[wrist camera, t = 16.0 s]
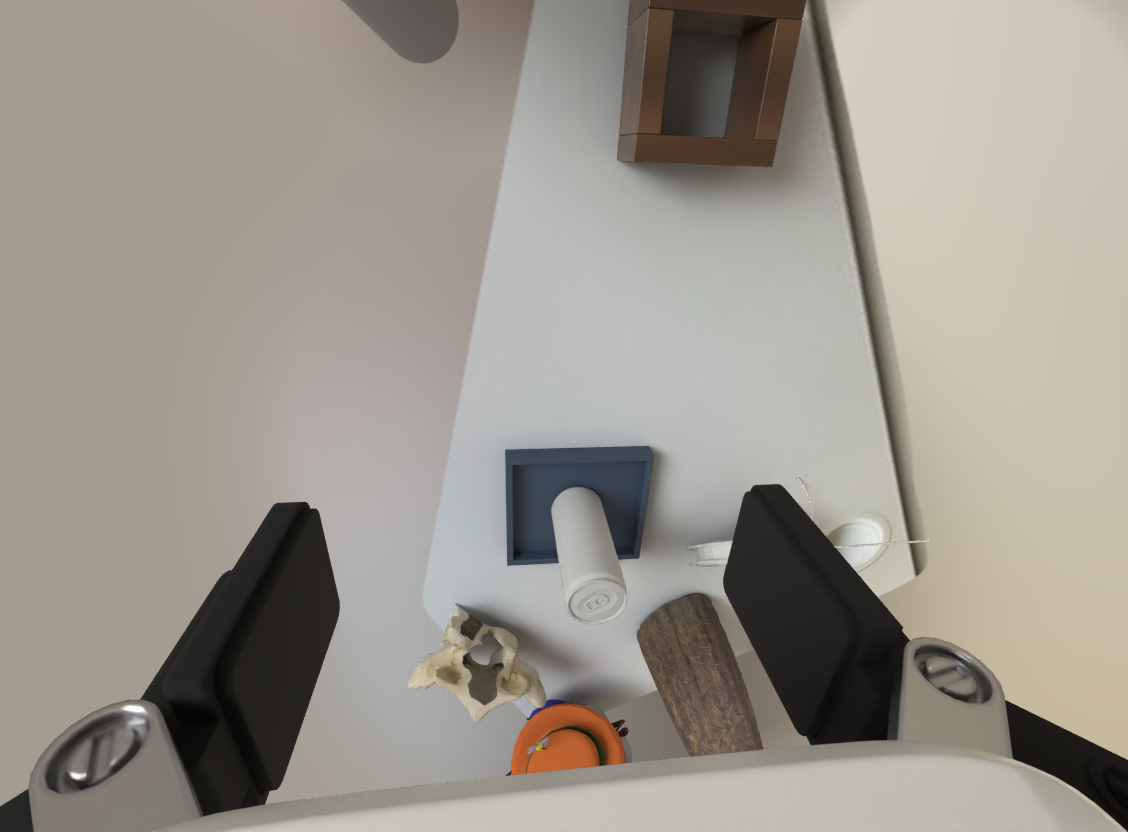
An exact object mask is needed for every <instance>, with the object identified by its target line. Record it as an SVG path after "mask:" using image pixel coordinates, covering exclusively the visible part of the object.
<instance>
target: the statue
mask: <svg viewBox="0 0 1128 832" xmlns="http://www.w3.org/2000/svg"><path fill="white" fill-rule="evenodd" d="M637 639H638V642H639V645H640V648H641V651H642V653H643V656H644V658H645V661H646V663H647V666H648V668H649V670H650V673H651V675H652V677H653V680H654V682H655V684H656V687H657V689H658V691H659V693H660V695H661V697H662V699H663V701H664V704H665V706H666V709H667V711H668V713H669V715H670V717H671V719H672V721H673V724H674V725H675V728H676V730H677V732H678V734H679V736H680V738H681V740H682V742H683V744H684V745H685V747H686V749H687V751H688V753H689V754H690V756H691V757H694V756H704V755H715V754H725V753H735V752H745V751H755V750H763V746H762V741H761V738H760V733H759V730H758V726H757V723H756V718H755V715H754V711H753V708H752V705H751V702H750V700H749V696H748V693H747V689H746V686H745V683H744V681H743V679H742V674H741V672H740V670H739V667H738V664H737V662H736V659H735V656H734V653H733V651H732V648H731V645H730V643H729V641H728V639H727V635H726V633H725V631H724V629H723V627H722V625H721V623H720V621H719V618H718V615H717V612H716V611H715V609H714V607H713V605H712V602H711V600H710V599H709V598H708V597H707V596H705V595H700V594H693V595H688V596H684V597H682V598H680V599H678V600H675V601H673V602H670V603H668V604H665V605H663V606H662V607H660V608H658V609H657V610H656V611H655V612H653V613H651V614H650V615H649V616H648V618H647V619H646V620H645V621H644V622H643V623H642V624H641V626H640V629H639V630H638V632H637Z"/></svg>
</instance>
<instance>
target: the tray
mask: <svg viewBox="0 0 1128 832" xmlns="http://www.w3.org/2000/svg"><path fill="white" fill-rule="evenodd" d="M653 457H654V455H653V453H652V451H651V450H650V447H649V446H632V447H595V448H557V449H520V450H505V459H506V519H507V565H508V566H510V565H528V564H547V563H559V560H558V553H557V546H556V539H555V533H554V526H553V519H552V512H551V508H552V504H553V502H554V501H555V499H556V498H557V497H558V496H559V494H560V493H562V492H563V491H565V490H567V489H569V488H574V487H584V488H587V489H590V490H592V491H593V492H595V493H596V494H597V495H598V496H599V498H600V500H601V503H602V506H603V510H604V513H605V517H606V520H607V523H608V527H609V530H610V534H611V537H612V540H613V544H614V547H615V551H616V554H617V557H618V560H620V559H639V556H640V548H641V541H642V534H643V527H644V520H645V513H646V506H647V499H648V492H649V485H650V478H651V471H652V464H653Z"/></svg>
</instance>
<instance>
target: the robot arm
mask: <svg viewBox="0 0 1128 832" xmlns="http://www.w3.org/2000/svg"><path fill="white" fill-rule="evenodd" d="M723 585H724V590H725V593H726V595H727V597H728V599H729V601H730V603H731V605H732V607H733V609H734V611H735V613H736V615H737V616H738V618H739V620H740V622H741V624H742V626H743V628H744V630H745V632H746V634H747V636H748V638H749V640H750V642H751V644H752V646H753V647H754V649H755V651H756V653H757V655H758V657H759V659H760V661H761V663H762V665H763V667H764V669H765V671H766V673H767V674H768V677H769V678H770V680H771V682H772V684H773V686H774V688H775V690H776V692H777V694H778V696H779V698H780V700H781V702H782V704H783V706H784V707H785V710H786V711H787V713H788V715H789V717H790V719H791V721H792V723H793V725H794V727H795V729H796V730H797V732H798V733H799V734H800V735H802V736H806V737H807V738H808V741H809V742H810V744H811V745H809V746H797V747H786V748H775V749H765V750H755V751H745V752H735V753H725V754H715V755H704V756H694V757H684V758H674V759H664V760H655V761H645V762H636V763H625V764H616V765H606V766H596V767H587V768H577V769H568V770H558V771H549V772H539V773H530V774H520V775H511V776H502V777H492V778H483V779H475V780H466V781H456V782H447V783H438V784H429V785H420V786H411V787H401V788H393V789H383V790H375V791H365V792H358V793H350V794H342V795H334V796H326V797H319V798H311V799H303V800H295V801H287V802H279V803H272V804H265V803H266V800H267V797H268V794H269V792H270V791H272V790H277V789H278V788H279V786H280V785H281V783H282V781H283V778H284V775H285V773H286V769H287V767H288V764H289V761H290V758H291V755H292V752H293V749H294V746H295V743H296V740H297V737H298V734H299V732H300V729H301V725H302V723H303V720H304V717H305V714H306V711H307V708H308V705H309V702H310V699H311V696H312V693H313V691H314V688H315V684H316V682H317V678H318V676H319V673H320V670H321V667H322V664H323V661H324V658H325V655H326V652H327V650H328V647H329V643H330V641H331V638H332V635H333V632H334V629H335V626H336V623H337V620H338V617H339V610H340V602H339V597H338V593H337V588H336V584H335V580H334V575H333V571H332V567H331V562H330V558H329V553H328V549H327V545H326V540H325V536H324V532H323V528H322V523H321V519H320V514H319V512H318V510H317V509H310V506H309V505H308V503H306V502H291V503H290V502H289V503H276V504H274V505H273V507H272V508H271V510H270V511H269V513H268V514H267V516H266V517H265V519H264V521H263V522H262V524H261V525H260V527H259V529H258V530H257V532H256V533H255V535H254V537H253V538H252V540H251V541H250V543H249V544H248V546H247V547H246V549H245V551H244V552H243V554H242V555H241V557H240V559H239V560H238V562H237V563H236V565H235V566H234V568H233V570H229V571H227V572H226V573H224V574H223V575H222V576H221V577H220V578H219V580H218V581H217V583H216V584H215V586H214V587H213V589H212V590H211V592H210V593H209V595H208V596H207V598H206V599H205V601H204V602H203V604H202V606H201V607H200V609H199V610H198V612H197V613H196V615H195V616H194V618H193V619H192V621H191V622H190V624H189V626H188V627H187V629H186V631H185V632H184V633H183V635H182V636H181V638H180V639H179V641H178V642H177V644H176V645H175V647H174V649H173V650H172V652H171V653H170V655H169V656H168V658H167V659H166V661H165V662H164V664H163V665H162V667H161V668H160V670H159V672H158V673H157V675H156V676H155V678H154V679H153V681H152V682H151V684H150V685H149V687H148V688H147V690H146V691H145V693H144V695H143V696H142V698H141V699H140V700H126V701H122V702H118V703H114V704H110V705H108V706H106V707H103V708H101V709H99V710H96V711H94V712H92V713H90V714H88V715H87V716H85V717H84V718H82V719H80V720H79V721H77V722H76V723H74V724H73V725H71V726H70V727H69V728H68V729H66V730H65V731H64V732H63V733H62V734H61V735H60V736H58V737H57V738H56V739H55V740H54V741H53V742H52V743H51V744H50V745H49V746H48V748H47V749H46V750H45V751H44V753H43V754H42V755H41V756H40V757H39V759H38V761H37V763H36V765H35V767H34V768H33V770H32V772H31V775H30V781H29V789H27V790H26V791H24V792H23V793H21V794H19V795H18V796H16V797H15V798H13V799H11V800H10V801H8V802H7V803H5V804H3V805H2V806H0V832H1128V760H1127V759H1125V758H1122V757H1120V756H1119V755H1116V754H1114V753H1112V752H1110V751H1108V750H1106V749H1104V748H1102V747H1100V746H1098V745H1096V744H1094V743H1092V742H1090V741H1088V740H1086V739H1084V738H1082V737H1080V736H1078V735H1076V734H1073V733H1072V732H1070V731H1067V730H1065V729H1063V728H1061V727H1059V726H1057V725H1055V724H1053V723H1051V722H1049V721H1047V720H1045V719H1043V718H1041V717H1039V716H1037V715H1035V714H1033V713H1031V712H1029V711H1027V710H1025V709H1022V708H1020V707H1019V706H1017V705H1015V704H1012V703H1010V702H1008V701H1006V700H1005V696H1004V693H1003V690H1002V687H1001V684H1000V683H999V681H998V680H997V678H996V677H995V675H994V674H993V673H992V671H991V670H990V669H988V668H987V667H986V666H985V665H984V664H983V663H982V662H981V661H980V660H978V659H977V658H976V657H974V656H973V655H972V654H970V653H969V652H967V651H966V650H964V649H962V648H960V647H958V646H956V645H954V644H952V643H949V642H946V641H943V640H940V639H936V638H929V637H921V638H915V639H913V640H911V641H910V640H909V639H908V638H907V636H906V635H905V634H904V633H903V632H902V629H903V627H902V626H901V625H900V623H899V622H898V621H897V620H896V619H895V617H894V616H893V615H892V614H891V613H890V611H889V610H888V609H887V608H886V607H885V605H884V604H883V603H882V602H881V601H880V600H879V598H878V597H877V596H876V595H875V594H874V593H873V591H872V590H871V589H870V588H869V587H868V586H867V584H866V583H865V582H864V581H863V580H862V578H861V577H860V576H859V575H858V574H857V573H856V571H855V570H854V569H853V568H852V567H851V566H850V564H849V563H848V562H847V561H846V560H845V559H844V557H843V556H842V555H841V554H840V553H839V552H838V550H837V549H836V548H835V547H834V546H833V544H832V543H831V542H830V541H829V540H828V539H827V537H826V536H825V535H824V534H823V533H822V532H821V530H820V529H819V528H818V527H817V526H816V525H815V523H814V522H813V521H812V520H811V519H810V517H809V516H808V515H807V514H806V513H805V512H804V510H803V509H802V508H801V507H800V506H799V505H798V503H797V502H796V501H795V500H794V499H793V498H792V496H791V495H790V494H789V493H788V492H787V490H786V489H785V488H784V487H783V486H782V485H779V484H770V485H755V486H753V487H752V488H751V491H750V492H746V493H745V494H744V497H743V501H742V505H741V509H740V513H739V517H738V521H737V525H736V529H735V533H734V537H733V541H732V545H731V549H730V553H729V557H728V561H727V565H726V569H725V573H724V578H723Z"/></svg>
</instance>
